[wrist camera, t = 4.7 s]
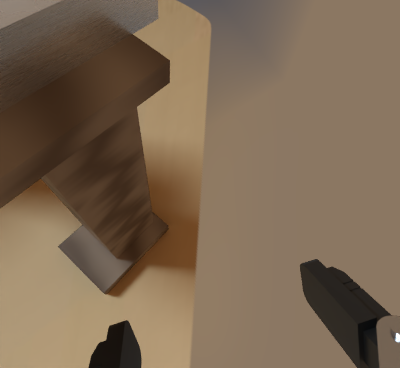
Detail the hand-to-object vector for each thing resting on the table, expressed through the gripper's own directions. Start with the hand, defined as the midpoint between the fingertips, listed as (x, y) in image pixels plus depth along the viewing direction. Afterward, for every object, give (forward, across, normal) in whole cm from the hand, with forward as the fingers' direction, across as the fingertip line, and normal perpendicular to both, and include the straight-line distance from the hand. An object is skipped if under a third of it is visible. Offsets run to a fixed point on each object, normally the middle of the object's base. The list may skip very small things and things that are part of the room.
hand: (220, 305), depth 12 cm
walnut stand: (+27, -11, -8) cm, 30 cm away
